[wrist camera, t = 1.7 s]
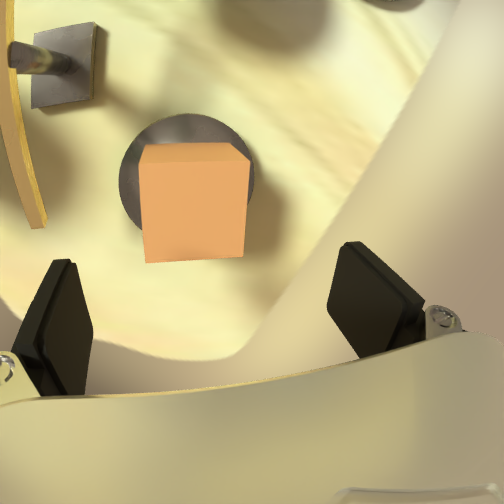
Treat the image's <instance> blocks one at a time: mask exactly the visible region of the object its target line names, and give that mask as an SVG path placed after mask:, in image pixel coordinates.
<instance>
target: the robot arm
mask: <svg viewBox="0 0 504 504" xmlns="http://www.w3.org/2000/svg"><path fill="white" fill-rule="evenodd" d="M424 303H425V300H424V299H423V298H422V297H421V296H420V295H419V294H418V293H417V292H416V291H415V290H414V289H413V288H411V287H410V286H409V285H408V284H407V283H406V282H405V281H404V280H403V279H402V278H401V277H400V276H399V275H398V274H397V273H395V272H394V271H393V270H392V269H391V268H390V267H389V266H388V265H387V264H386V263H384V262H383V261H382V260H381V259H380V258H378V256H377V255H375V254H374V253H373V252H372V251H371V250H370V249H368V248H367V247H366V246H365V245H364V244H363V243H362V242H360V241H357V242H346V243H345V244H344V245H343V246H342V247H341V248H340V250H339V255H338V259H337V264H336V268H335V273H334V277H333V281H332V285H331V290H330V294H329V298H328V302H327V311H328V313H329V315H330V316H331V318H332V319H333V320H334V322H335V323H336V325H337V326H338V328H339V329H340V331H341V332H342V333H343V335H344V336H345V338H346V339H347V341H348V342H349V343H350V345H351V346H352V348H353V349H354V351H355V352H356V353H357V355H358V357H359V358H360V359H357V360H353V361H349V362H345V363H341V364H338V365H333V366H329V367H324V368H320V369H315V370H310V371H306V372H301V373H296V374H291V375H286V376H281V377H275V378H269V379H263V380H257V381H251V382H244V383H238V384H230V385H223V386H215V387H208V388H198V389H189V390H178V391H167V392H154V393H135V394H113V395H84V394H85V386H86V378H87V371H88V364H89V357H90V351H91V345H92V339H93V326H92V322H91V319H90V316H89V312H88V309H87V305H86V301H85V298H84V294H83V290H82V286H81V282H80V278H79V273H78V269H77V265H76V263H71V260H70V259H57V260H53V262H52V263H51V265H50V267H49V269H48V271H47V273H46V275H45V277H44V279H43V281H42V283H41V285H40V287H39V289H38V291H37V293H36V295H35V297H34V299H33V301H32V302H31V304H30V307H29V309H28V311H27V313H26V315H25V318H24V320H23V322H22V325H21V327H20V329H19V332H18V335H17V337H16V339H15V342H14V344H13V347H12V350H11V352H7V351H1V352H0V504H504V345H503V344H502V343H501V342H500V341H498V340H497V339H496V338H494V337H493V336H491V335H488V334H484V333H479V332H468V331H465V330H462V326H461V322H460V319H459V317H458V316H457V315H456V314H455V313H454V312H453V311H451V310H450V309H448V308H445V307H443V306H438V305H432V306H429V307H428V308H427V309H426V311H425V312H424V311H423V310H422V308H423V305H424Z"/></svg>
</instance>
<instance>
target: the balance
mask: <svg viewBox="0 0 504 504" xmlns="http://www.w3.org/2000/svg"><path fill="white" fill-rule="evenodd" d="M96 32H97V24H96V23H95V22H88V23H82V24H76V25H71V26H66V27H61V28H56V29H51V30H47V31H43V32H39V33H35V34H34V43H33V45H29V44H25V43H21V42H16V41H14V0H0V126H1V130H2V135H3V139H4V143H5V148H6V152H7V156H8V159H9V163H10V167H11V170H12V174H13V177H14V180H15V184H16V187H17V190H18V193H19V196H20V199H21V202H22V205H23V208H24V211H25V214H26V216H27V219H28V222H29V224H30V227H31V229H38V228H45V225H46V222H47V220H48V217H47V214H46V211H45V208H44V205H43V202H42V198H41V195H40V191H39V188H38V184H37V181H36V177H35V173H34V169H33V165H32V161H31V157H30V153H29V148H28V144H27V139H26V134H25V129H24V123H23V118H22V112H21V105H20V98H19V91H18V83H17V74H32V76H31V109H34V108H39V107H44V106H50V105H56V104H62V103H68V102H75V101H82V100H89V99H93V80H94V58H95V43H96ZM167 143H230V144H231V145H232V146H234V147H235V148H236V149H237V150H238V151H239V152H240V153H241V154H243V155H244V156H245V157H246V158H247V159H248V160H249V161H250V171H249V184H248V197H247V205H248V202H249V200H250V198H251V194H252V191H253V185H254V168H253V162H252V158H251V155H250V153H249V151H248V148H247V147H246V145H245V143H244V142H243V140H242V139H241V138H240V137H239V135H238V134H237V133H236V132H234V131H233V130H232V129H231V128H230V127H228V126H227V125H225V124H224V123H222V122H220V121H218V120H216V119H214V118H211V117H209V116H205V115H200V114H189V113H187V114H177V115H172V116H168V117H166V118H163V119H160V120H158V121H156V122H155V123H153V124H151V125H150V126H148V127H147V128H145V129H144V130H143V131H142V132H141V133H140V134H139V135H138V136H137V137H136V138H135V139H134V141H133V142H132V143H131V145H130V146H129V148H128V150H127V151H126V153H125V155H124V158H123V160H122V163H121V167H120V172H119V192H120V197H121V201H122V204H123V206H124V208H125V210H126V212H127V214H128V215H129V217H130V218H131V220H132V221H133V222H134V223H135V224H136V225H137V226H138V227H139V228H140V229H141V230H142V218H141V204H140V186H139V161H140V159H141V156H142V153H143V150H144V147H145V145H146V144H167Z"/></svg>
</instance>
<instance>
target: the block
mask: <svg viewBox="0 0 504 504" xmlns="http://www.w3.org/2000/svg"><path fill="white" fill-rule="evenodd" d="M249 171H250V161H249V160H248V159H247V158H246V157H245V156H244V155H243V154H241V153H240V152H239V151H238V150H237V149H236V148H235V147H234V146H232V145H231V144H230V143H167V144H146V145H145V147H144V150H143V153H142V156H141V159H140V161H139V186H140V204H141V218H142V231H143V242H144V252H145V261H146V263H156V262H171V261H186V260H201V259H216V258H231V257H243V251H244V237H245V224H246V210H247V197H248V184H249Z"/></svg>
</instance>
